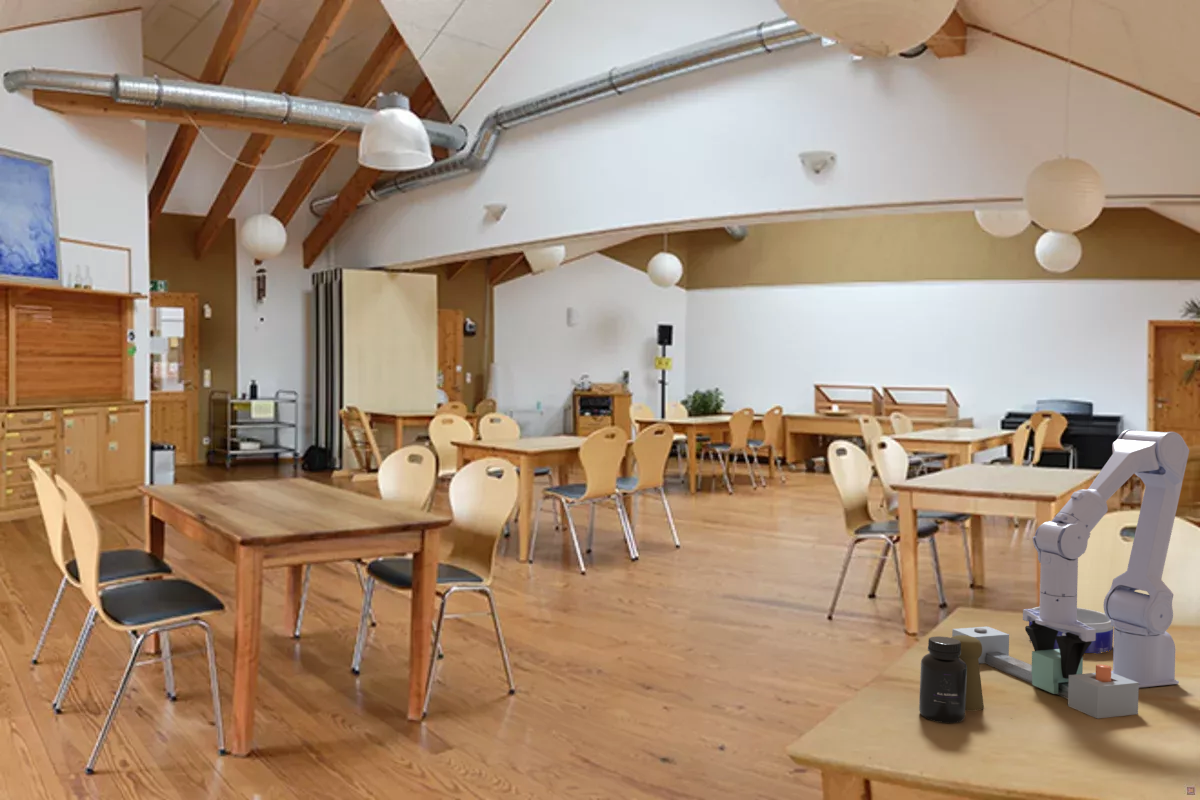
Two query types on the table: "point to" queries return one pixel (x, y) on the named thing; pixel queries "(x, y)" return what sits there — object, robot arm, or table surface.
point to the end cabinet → (1103, 695)
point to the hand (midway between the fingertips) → (1056, 672)
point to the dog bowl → (1096, 622)
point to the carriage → (1049, 670)
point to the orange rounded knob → (1103, 673)
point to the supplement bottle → (943, 681)
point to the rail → (1018, 669)
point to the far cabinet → (986, 640)
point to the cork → (972, 671)
